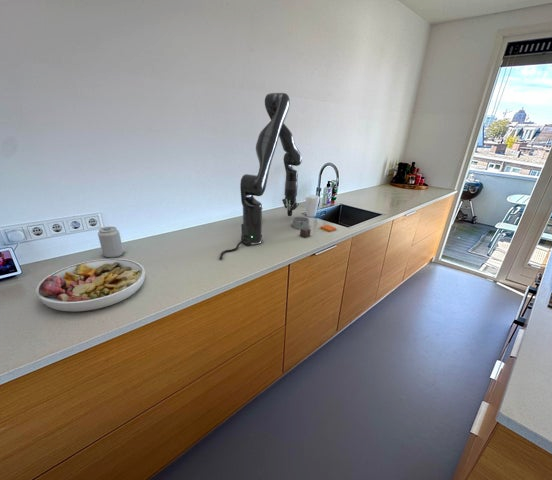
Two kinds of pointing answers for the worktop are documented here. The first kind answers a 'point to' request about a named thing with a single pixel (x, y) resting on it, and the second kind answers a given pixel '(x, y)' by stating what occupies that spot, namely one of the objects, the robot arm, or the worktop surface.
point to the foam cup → (311, 205)
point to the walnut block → (305, 232)
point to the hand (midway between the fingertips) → (289, 215)
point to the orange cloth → (328, 228)
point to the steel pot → (300, 222)
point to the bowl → (91, 284)
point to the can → (110, 242)
